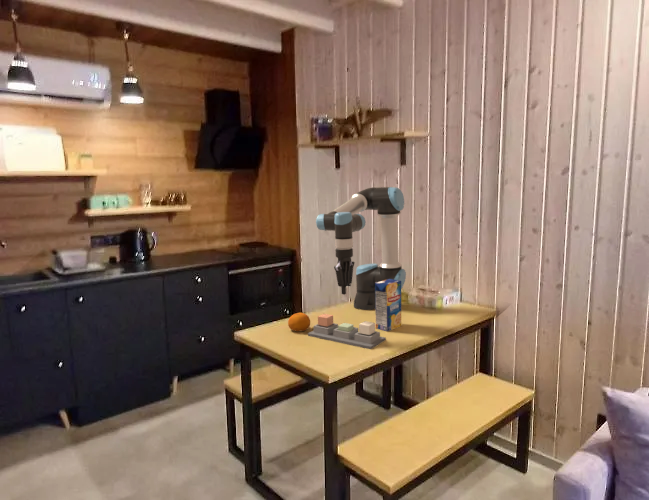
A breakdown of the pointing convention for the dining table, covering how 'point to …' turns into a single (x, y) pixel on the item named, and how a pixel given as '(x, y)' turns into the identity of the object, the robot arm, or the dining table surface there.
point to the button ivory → (366, 328)
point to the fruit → (299, 322)
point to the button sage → (346, 327)
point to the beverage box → (388, 304)
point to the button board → (347, 336)
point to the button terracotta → (325, 320)
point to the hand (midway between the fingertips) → (345, 300)
